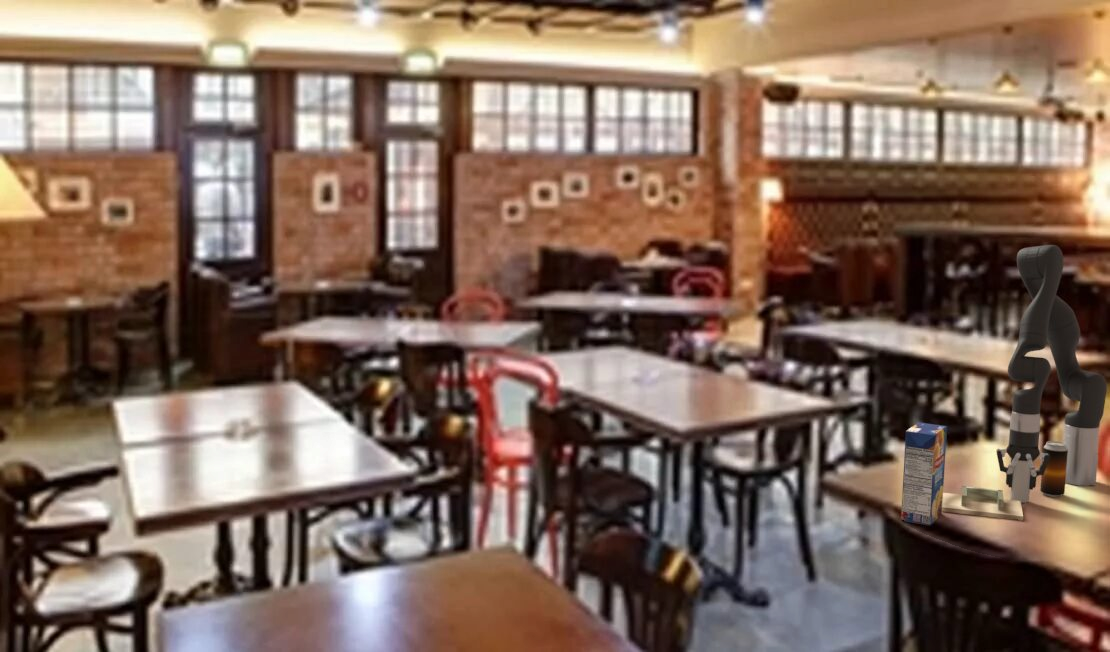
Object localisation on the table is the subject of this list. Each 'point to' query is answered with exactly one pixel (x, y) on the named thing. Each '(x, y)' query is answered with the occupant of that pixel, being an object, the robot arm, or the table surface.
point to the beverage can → (1054, 469)
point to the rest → (982, 503)
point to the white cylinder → (1021, 482)
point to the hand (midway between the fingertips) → (1020, 487)
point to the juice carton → (923, 473)
